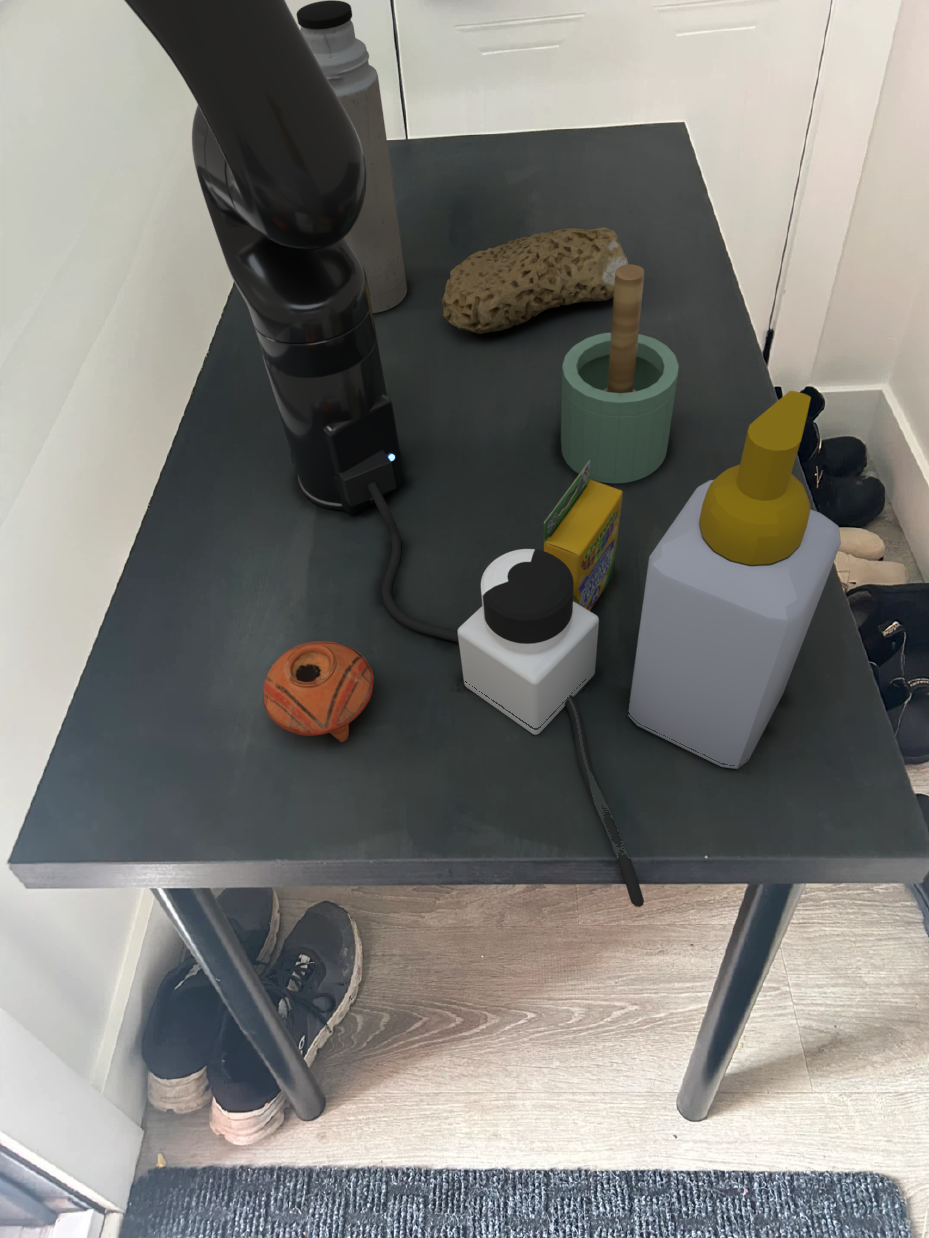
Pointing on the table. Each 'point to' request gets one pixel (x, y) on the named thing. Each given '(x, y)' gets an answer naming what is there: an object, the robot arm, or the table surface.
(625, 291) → the wooden peg on base
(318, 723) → the pot
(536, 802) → the table surface
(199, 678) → the table surface
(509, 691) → the medicine bottle
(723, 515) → the soap bottle
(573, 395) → the jar
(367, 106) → the thermos bottle
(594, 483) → the crayon box
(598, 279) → the sponge
